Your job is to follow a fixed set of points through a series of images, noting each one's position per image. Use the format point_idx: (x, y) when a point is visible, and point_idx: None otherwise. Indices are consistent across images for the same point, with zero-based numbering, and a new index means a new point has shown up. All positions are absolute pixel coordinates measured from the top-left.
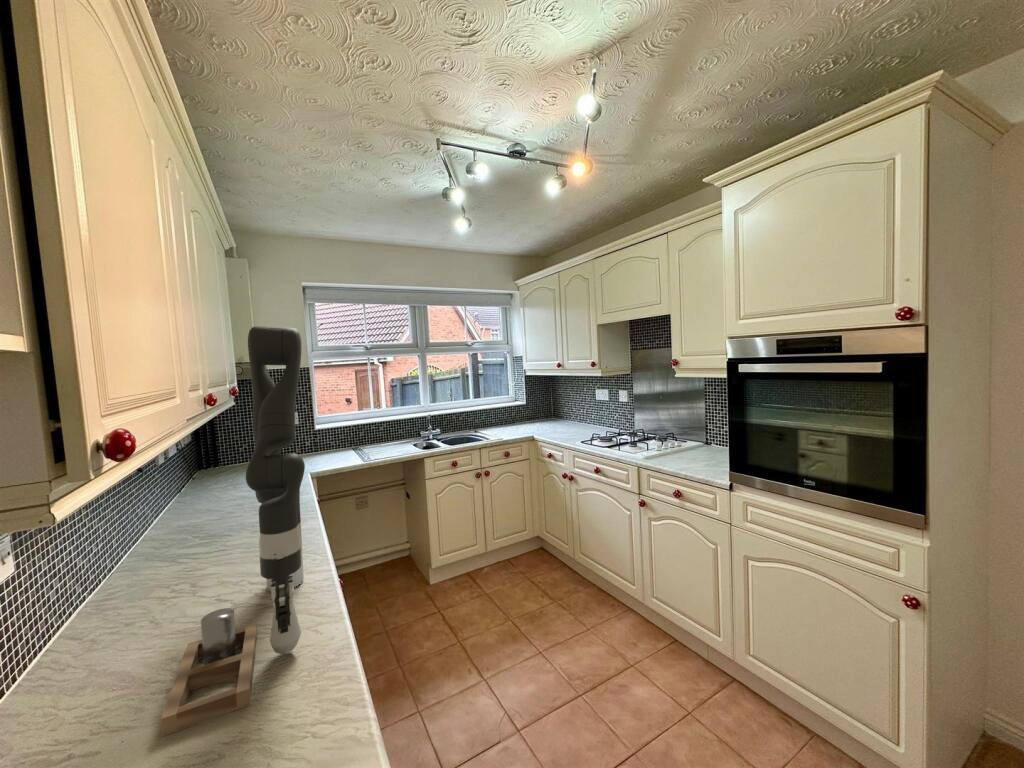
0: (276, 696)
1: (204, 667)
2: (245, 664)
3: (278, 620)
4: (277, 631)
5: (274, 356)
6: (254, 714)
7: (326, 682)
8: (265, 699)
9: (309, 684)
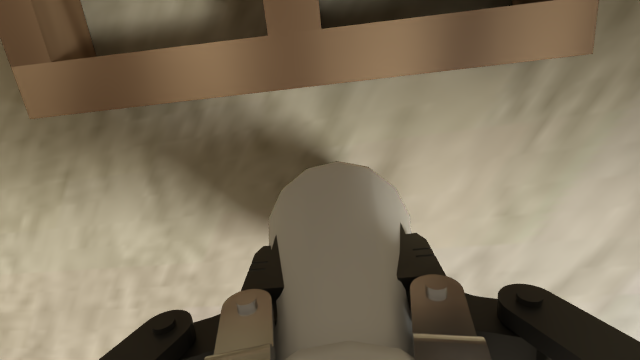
0: (99, 190)
1: None
2: (214, 67)
3: (264, 283)
4: (278, 235)
5: None
6: (27, 132)
7: (123, 324)
8: (94, 156)
9: (129, 281)
